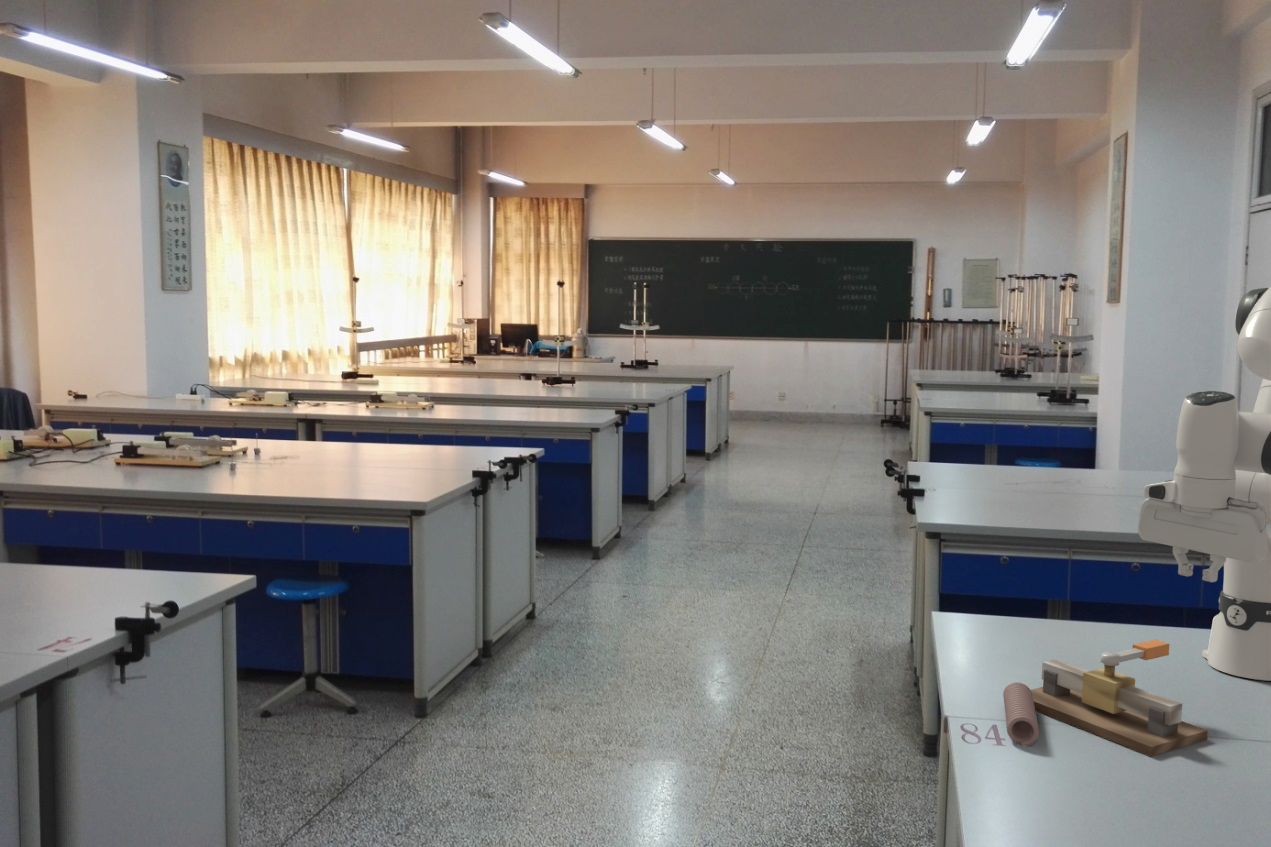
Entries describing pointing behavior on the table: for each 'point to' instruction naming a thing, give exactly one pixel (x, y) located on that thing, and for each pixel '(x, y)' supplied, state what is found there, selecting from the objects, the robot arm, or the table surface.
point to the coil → (1020, 714)
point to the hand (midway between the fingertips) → (1197, 578)
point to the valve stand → (1113, 708)
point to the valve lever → (1137, 652)
